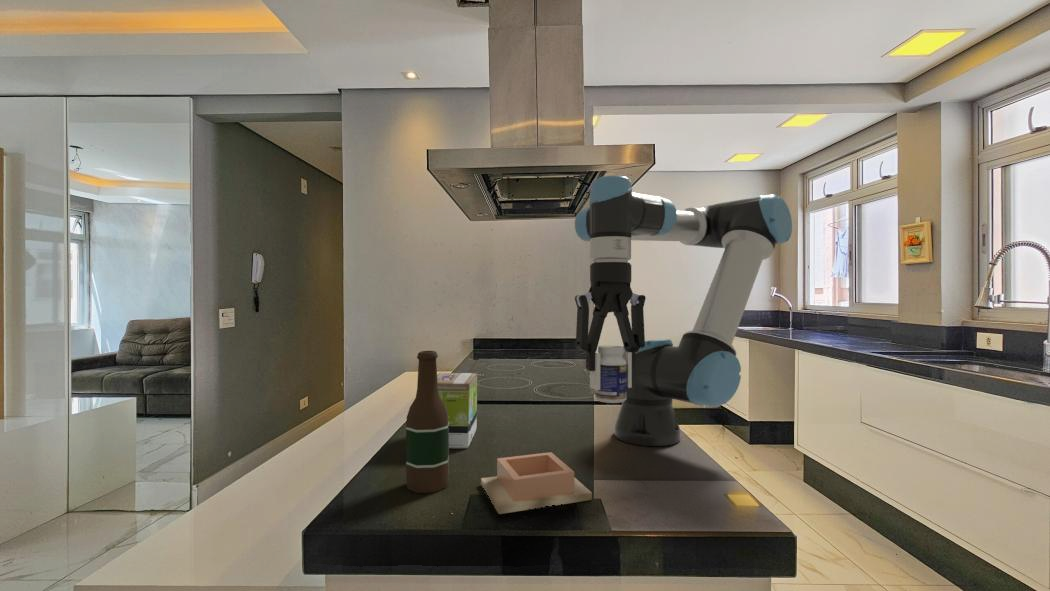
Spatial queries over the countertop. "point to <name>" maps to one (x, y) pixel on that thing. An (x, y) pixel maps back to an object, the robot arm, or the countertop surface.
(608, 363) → the pill bottle
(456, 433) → the tea box
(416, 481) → the beer bottle
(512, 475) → the well
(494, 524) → the countertop surface
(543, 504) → the board
